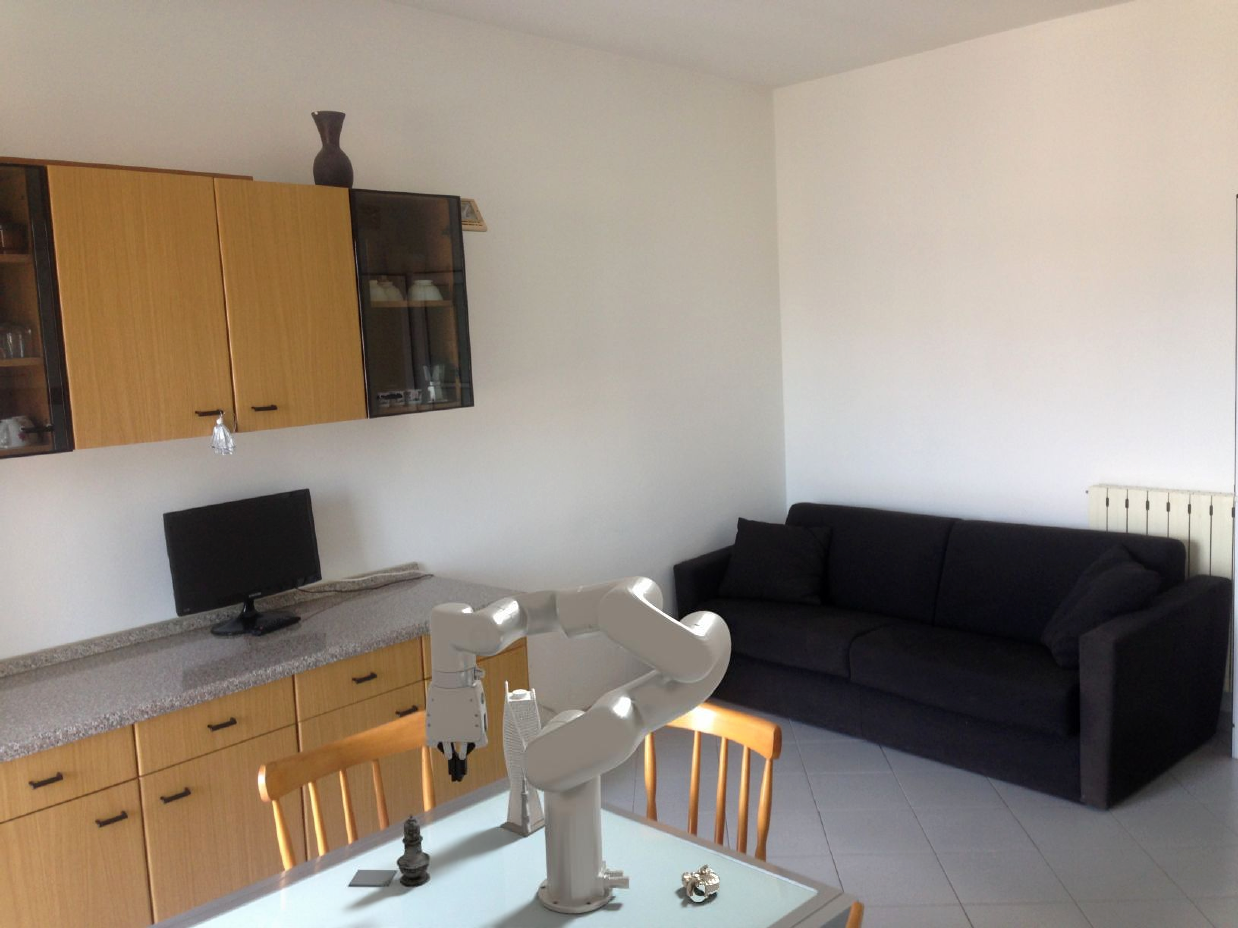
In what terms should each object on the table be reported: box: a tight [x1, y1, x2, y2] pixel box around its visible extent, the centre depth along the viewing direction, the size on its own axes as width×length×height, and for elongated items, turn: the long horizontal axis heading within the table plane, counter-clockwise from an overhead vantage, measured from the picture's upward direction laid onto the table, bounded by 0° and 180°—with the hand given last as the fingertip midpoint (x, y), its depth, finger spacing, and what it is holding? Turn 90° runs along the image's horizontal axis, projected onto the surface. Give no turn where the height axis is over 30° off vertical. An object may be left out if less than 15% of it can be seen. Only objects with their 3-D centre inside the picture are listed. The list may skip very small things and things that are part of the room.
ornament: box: [680, 864, 721, 898], centre depth 175 cm, size 8×7×4 cm
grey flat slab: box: [348, 869, 398, 887], centre depth 182 cm, size 7×5×1 cm
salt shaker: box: [396, 813, 431, 888], centre depth 181 cm, size 6×6×12 cm
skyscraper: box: [499, 680, 545, 838], centre depth 200 cm, size 8×8×28 cm
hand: (458, 778), depth 179 cm, fingers closed
